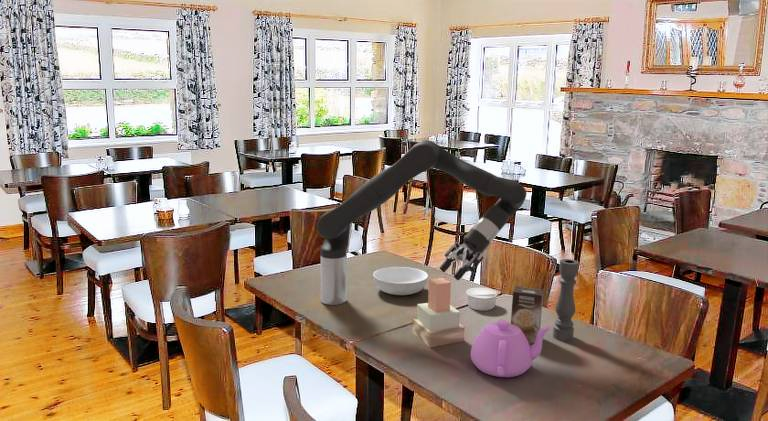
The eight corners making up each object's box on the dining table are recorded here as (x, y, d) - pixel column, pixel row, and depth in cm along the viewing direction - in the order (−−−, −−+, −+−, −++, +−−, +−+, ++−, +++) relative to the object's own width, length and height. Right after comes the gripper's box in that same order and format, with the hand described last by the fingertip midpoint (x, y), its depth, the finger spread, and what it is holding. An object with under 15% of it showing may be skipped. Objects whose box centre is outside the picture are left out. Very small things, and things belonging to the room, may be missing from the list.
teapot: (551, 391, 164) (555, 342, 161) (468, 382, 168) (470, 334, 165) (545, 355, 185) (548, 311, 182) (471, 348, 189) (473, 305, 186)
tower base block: (412, 333, 200) (412, 318, 199) (444, 328, 205) (445, 313, 204) (429, 348, 189) (430, 333, 188) (463, 342, 194) (464, 327, 193)
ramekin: (483, 314, 216) (483, 300, 215) (458, 305, 224) (459, 291, 223) (503, 307, 223) (504, 293, 222) (479, 298, 232) (479, 285, 230)
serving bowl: (437, 289, 241) (437, 272, 239) (409, 305, 224) (410, 287, 222) (391, 279, 252) (391, 262, 250) (361, 293, 234) (362, 276, 233)
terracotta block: (427, 307, 196) (428, 279, 194) (441, 304, 198) (442, 277, 196) (435, 312, 191) (436, 284, 190) (449, 310, 193) (450, 282, 192)
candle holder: (562, 342, 194) (569, 265, 189) (548, 335, 200) (554, 260, 194) (577, 339, 197) (584, 263, 192) (563, 331, 203) (569, 257, 197)
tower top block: (416, 318, 199) (417, 304, 198) (445, 315, 203) (445, 300, 201) (429, 330, 190) (430, 315, 189) (459, 327, 193) (459, 311, 192)
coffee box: (508, 340, 195) (511, 291, 192) (511, 332, 201) (514, 285, 198) (538, 344, 193) (542, 295, 189) (540, 336, 198) (544, 288, 195)
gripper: (462, 222, 200) (430, 261, 198) (487, 233, 188) (453, 273, 185) (475, 237, 204) (444, 275, 201) (501, 248, 191) (467, 288, 189)
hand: (448, 274), depth 193 cm, fingers open, 8 cm apart
